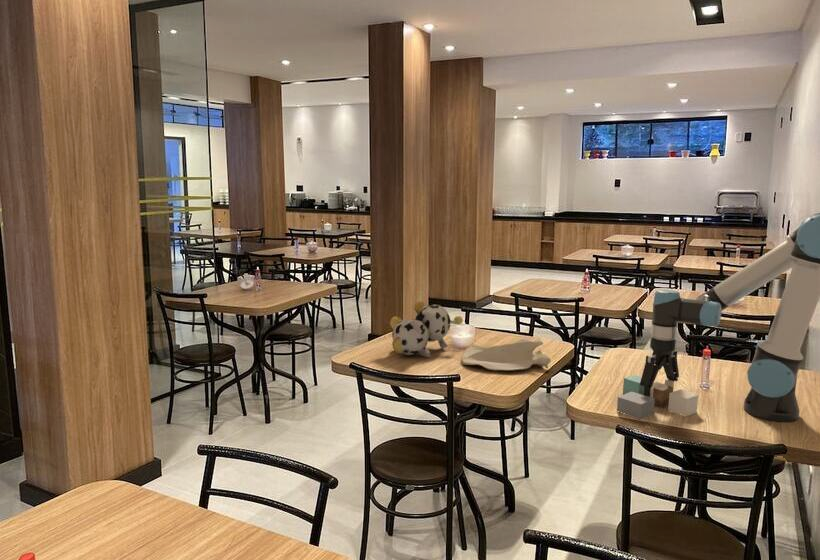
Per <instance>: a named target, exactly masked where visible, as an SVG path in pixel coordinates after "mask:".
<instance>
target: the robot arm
mask: <svg viewBox="0 0 820 560" xmlns="http://www.w3.org/2000/svg"><path fill="white" fill-rule="evenodd" d="M789 270H790V274H789V276H788V280H787V282H786V284H785V288H784V290H783V293H782V296H781V298H780V301H779V304H778V307H777V310H776V312H775V315H774V319H773V321H772V323H771V325H770V329H769V331H768V335H767V338H766V340H765V339H764V340H763V339H760V340H759V341H757V342H756V343H757V344H756V347H755V353H754V356H753V358H752V362H751V364H750V366H748V368H747V373H746V374H747V381H748V384H749V385H750V389H749V391H748V393H747V395H746V397H745V398H744V401H743V402H744V403H743V410H744V411H745V412H746V413H748V414H750V415H752V416H755V417H757V418H760V419H764V420H768V421H774V422H795V421H797V420H798V419H800V407H799V404H798V399H797V396H796V395H797V394H796V387H797V380H798V379H797V378H798V374H799V371H800V368H801V365H802V362H803V360H804V356H803V354H802V353H801V352H802V351H801V347H802V346H803V343H804V339H805V338H806V335H807V332H808V330H809V326H810V323H811V322H812V319H813V316H814V313H815V310H816V308H817V305H818V303H819V300H820V212H818V213H815V214H812V215H811V216H809V217H808V218H805V220H804V221H802V222H801V224H800V225H799V226H798V228H797V229H795V230H793V232H791V233H788V235H787V237H786V240H784V241H783V242H782V243H779V245H776V246H775V247H774V248H772V249H771V250H769V251H768V252H766V253H764V254H763V255H761V256H759V257H758V258H757V259H755V260H754V261H752V262H751V263H749V264H748V265H746V266H745V267H743V268H742V269H740V270H737V272H735V273H734V274H732V275H730V276H728V277H727V278H726V279H724V280H722V281H721V282H719V283H718V284H717V285H715V286H713V288H710V289H709V290H707V291H706V292H704V293H702V294H700V295H699V296H698V297H697V298H695V299H690V298H683V297H681V295H680V294H681V293H680V292H679V291H678V290H676V289H675V290H673V289H664V288H663V289H657V290H655V292H654V295H653V296H654V298H653V303H652V316H651V317H652V320H651V331H650V332H651V333H650V335H651V337H650V342H649V343H650V344H649V347H650V349H652V354H651V355H648V354H647V355H645V363H644V367H643V371H642V375H641V377H642V378H641V381H640V385H641V386H644V395H645V396H648V397H651V398H653V388H652V385H653V383H655V382H656V381H655V380H656V378H657V376H658V373H659V371H660V370H661V369H662V368H663V370H664V373H665V376H666V378H665V380H664V384H665V385H668V386H671V387H673V389H674V387H675V386H674V385H675V382H678V381H679V378H680V371H679V366H678V351H677V350H676V344H677V343H676V342H677V341H676V338H677V330H678V329H677V328H678V323H679V322H680V323H687V324H692V325H693V324H694V325H700V326H704V327H717V326H718V325H720V321H721V317H722V311H724V310H726V309H727V308H729V307H730V306H732V305H733V304H735V303H736V302H739V301H740V300H741V299H743V298H744V297H746V296H748V295H750V294H751V293H753V292H754V291H756V290H758V289H759V288H761V287H763V286H765V285H766V284H767V283H769V282H772V280H774V279H776V278H778V277H779V276H781V275H782V274H784V273H786V272H787V271H789Z"/></svg>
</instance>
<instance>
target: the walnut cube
mask: <svg viewBox="0 0 820 560" xmlns="http://www.w3.org/2000/svg"><path fill="white" fill-rule="evenodd" d="M652 388H653V398H655V402H654V407H657V408H660V409H662V408H665V407H668V406H669V394H670V393H671V392H674V388H673V387H671V386H668V385H665V383H661V382H658V381H654V383H653V385H652Z"/></svg>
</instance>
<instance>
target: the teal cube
mask: <svg viewBox="0 0 820 560" xmlns="http://www.w3.org/2000/svg"><path fill="white" fill-rule="evenodd" d="M641 378H642V376H639V375H636V374H633V375H630V376H626V377H623V384H622V385H623V386H622V395H624V394H627V393H629V392H635V393H638V394H641V395H644V386H641V385H640V381H641Z"/></svg>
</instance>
